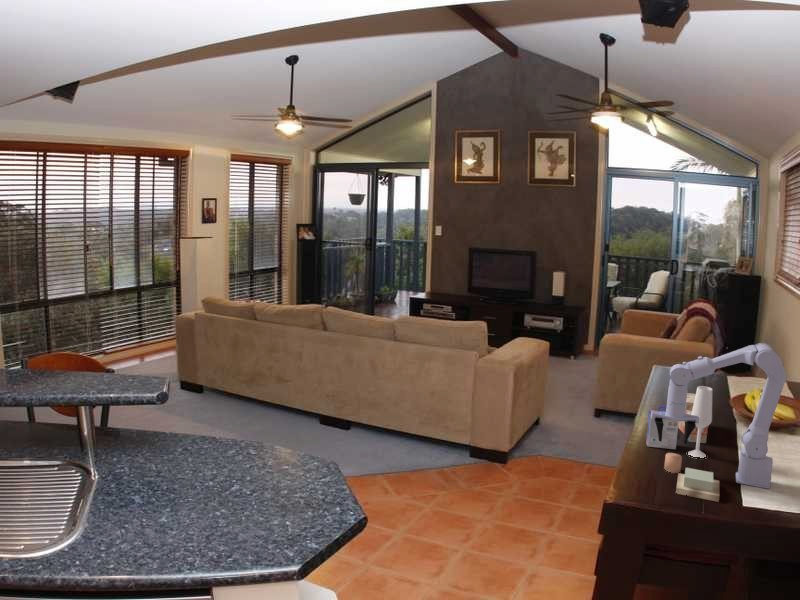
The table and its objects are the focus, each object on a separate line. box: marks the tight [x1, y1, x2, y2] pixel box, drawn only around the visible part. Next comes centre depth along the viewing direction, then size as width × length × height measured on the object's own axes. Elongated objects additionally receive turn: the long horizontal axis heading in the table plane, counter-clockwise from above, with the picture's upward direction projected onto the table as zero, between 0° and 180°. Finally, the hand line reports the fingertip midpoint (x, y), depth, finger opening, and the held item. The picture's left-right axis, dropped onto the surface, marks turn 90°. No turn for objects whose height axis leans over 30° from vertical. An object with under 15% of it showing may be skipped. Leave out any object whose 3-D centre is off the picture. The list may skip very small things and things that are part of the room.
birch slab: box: [675, 472, 720, 503], centre depth 223 cm, size 12×12×2 cm
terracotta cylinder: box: [663, 452, 683, 474], centre depth 237 cm, size 5×5×5 cm
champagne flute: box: [687, 385, 713, 458], centre depth 249 cm, size 7×7×24 cm
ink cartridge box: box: [645, 404, 679, 450], centre depth 257 cm, size 10×6×14 cm, turn 79°
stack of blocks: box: [678, 392, 710, 444], centre depth 272 cm, size 21×6×12 cm, turn 172°
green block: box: [684, 467, 714, 492], centre depth 223 cm, size 8×8×3 cm
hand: (672, 441), depth 236 cm, fingers open, 7 cm apart
